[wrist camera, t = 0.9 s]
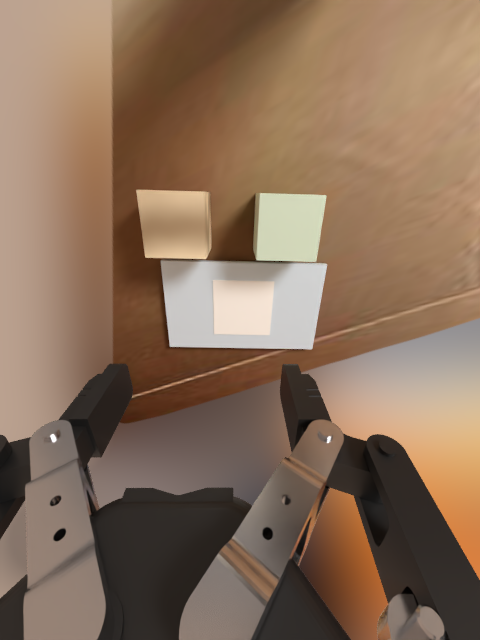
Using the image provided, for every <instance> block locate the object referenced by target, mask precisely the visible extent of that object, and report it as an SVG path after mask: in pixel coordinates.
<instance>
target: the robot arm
mask: <svg viewBox="0 0 480 640" xmlns="http://www.w3.org/2000/svg"><path fill="white" fill-rule="evenodd" d="M132 393H133V387H132V383H131V379H130V374H129V370H128V366H127V365H126V364H109V365H108V366H107V368H106V369H105V370H104V372H103V373H102V374H97V375H96V376H95V377H93V378H92V379H91V380H89V381H88V383H87V384H86V385H85V386H84V388H83V390H81V392H80V393H79V394H78V397H76V398H75V399H74V401H73V402H72V403H71V404H70V406H69V407H68V408H67V410H66V411H65V412H64V413H63V415H62V416H61V417H60V419H59V420H57V421H53V422H50V423H48V424H46V425H44V426H42V427H41V428H40V429H38V430H37V431H36V432H35V433H34V434H33V435H32V437H30V438H26V439H22V440H18V441H14V442H10V443H9V442H8V441H7V439H6V437H5V436H3V435H0V539H1V537H2V536H3V534H4V532H5V531H6V529H7V528H8V526H9V525H10V523H11V521H12V520H13V518H14V516H15V515H16V513H17V512H18V510H19V509H20V507H21V505H22V503H23V502H24V501H26V535H27V536H26V538H27V575H25V576H24V577H23V578H22V579H21V580H20V581H19V582H18V583H17V584H16V585H15V586H14V587H12V588H11V589H10V590H9V591H8V592H7V593H6V594H5V595H4V596H3V597H1V598H0V640H351V639H350V638H349V636H348V635H347V633H346V632H345V631H344V629H343V628H342V626H341V625H340V624H339V622H338V621H337V619H336V618H335V617H334V615H333V614H332V612H331V611H330V610H329V608H328V607H327V605H326V604H325V603H324V601H323V600H322V598H321V597H320V596H319V594H318V593H317V591H316V590H315V589H314V587H313V586H312V585H311V583H310V582H309V580H308V579H307V577H306V576H305V575H304V573H303V572H302V570H301V569H300V568H299V564H300V561H301V559H302V556H303V554H304V552H305V549H306V547H307V544H308V542H309V539H310V536H311V533H312V530H313V527H314V525H315V522H316V520H317V518H318V515H319V513H320V511H321V508H322V506H323V503H324V501H325V499H326V496H327V494H328V492H329V489H330V488H333V489H337V490H339V491H342V492H345V493H348V494H351V495H354V498H355V501H356V504H357V507H358V511H359V514H360V517H361V520H362V523H363V526H364V529H365V532H366V535H367V538H368V542H369V544H370V548H371V551H372V554H373V557H374V560H375V564H376V567H377V570H378V573H379V576H380V579H381V582H382V585H383V588H384V592H385V595H386V598H387V601H388V605H387V607H386V608H385V609H384V611H383V612H382V614H381V615H380V617H379V620H378V625H377V635H378V640H480V580H479V578H478V577H477V575H476V573H475V571H474V570H473V568H472V566H471V565H470V563H469V561H468V559H467V557H466V556H465V554H464V552H463V550H462V549H461V547H460V545H459V543H458V542H457V540H456V538H455V537H454V535H453V533H452V531H451V529H450V528H449V526H448V524H447V522H446V521H445V519H444V517H443V515H442V514H441V512H440V510H439V509H438V507H437V505H436V503H435V502H434V500H433V498H432V496H431V495H430V493H429V491H428V489H427V488H426V486H425V484H424V482H423V481H422V479H421V477H420V475H419V474H418V472H417V470H416V468H415V467H414V465H413V463H412V461H411V460H410V458H409V457H408V455H407V453H406V451H405V449H404V448H403V447H402V446H401V445H400V444H399V443H398V442H397V441H395V440H394V439H392V438H390V437H388V436H384V435H378V434H377V435H372V436H370V437H369V438H368V440H367V441H363V440H360V439H356V438H352V437H350V436H347V435H345V434H343V433H342V431H341V429H340V428H339V427H338V426H337V425H335V424H334V423H332V421H331V419H330V417H329V414H328V411H327V409H326V407H325V404H324V402H323V399H322V397H321V394H320V392H319V390H318V387H317V385H316V382H315V380H314V379H313V378H312V377H311V376H310V375H308V374H301V372H300V369H299V366H298V364H283V366H282V375H281V385H280V396H281V403H282V407H283V412H284V417H285V422H286V427H287V431H288V437H289V442H290V447H291V451H292V454H291V455H290V456H289V458H286V457H285V458H284V459H283V460H282V461H281V462H280V464H279V465H278V467H277V469H276V470H275V472H274V473H273V475H272V476H271V478H270V480H269V481H268V483H267V484H266V486H265V487H264V489H263V491H262V492H261V494H260V495H259V497H258V498H257V500H256V501H255V503H254V504H253V506H252V505H251V504H249V503H247V502H246V501H244V500H242V499H240V498H236V497H233V488H204V489H201V490H197V491H194V492H190V493H186V494H183V495H174V494H171V493H167V492H164V491H161V490H157V489H154V488H126V490H125V492H124V496H123V498H121V499H118V500H115V501H113V502H111V503H109V504H107V505H105V506H103V507H102V508H99V505H98V501H97V497H96V494H95V490H94V486H93V482H92V478H91V474H90V470H89V467H88V462H89V460H90V458H91V457H102V455H103V453H104V451H105V449H106V447H107V445H108V443H109V441H110V440H111V438H112V436H113V434H114V432H115V430H116V428H117V426H118V424H119V422H120V420H121V418H122V416H123V414H124V412H125V410H126V408H127V406H128V404H129V402H130V400H131V398H132Z"/></svg>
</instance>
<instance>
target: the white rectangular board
mask: <svg viewBox="0 0 480 640" xmlns="http://www.w3.org/2000/svg"><path fill="white" fill-rule="evenodd" d="M326 268H327V265H326V264H325V263H288V262H248V261H207V260H167V259H162V260H161V269H162V279H163V288H164V297H165V306H166V316H167V325H168V334H169V343H170V347H210V348H269V349H312V347H313V342H314V336H315V330H316V325H317V319H318V313H319V308H320V302H321V297H322V291H323V285H324V280H325V274H326Z"/></svg>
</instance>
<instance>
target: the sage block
mask: <svg viewBox="0 0 480 640" xmlns="http://www.w3.org/2000/svg"><path fill="white" fill-rule="evenodd" d="M326 196H327V195H302V194H269V193H257V194H256V196H255V217H254V238H253V251H254V254H255V257H256V260H264V261H305V262H316V259H317V253H318V247H319V240H320V234H321V227H322V221H323V215H324V208H325V202H326Z"/></svg>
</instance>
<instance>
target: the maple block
mask: <svg viewBox="0 0 480 640" xmlns="http://www.w3.org/2000/svg"><path fill="white" fill-rule="evenodd" d="M136 192H137V200H138V207H139V214H140V222H141V229H142V237H143V244H144V252H145V258H178V259H206V258H207V256H208V254H209V252H210V250H211V202H210V192H197V191H165V190H136Z"/></svg>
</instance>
